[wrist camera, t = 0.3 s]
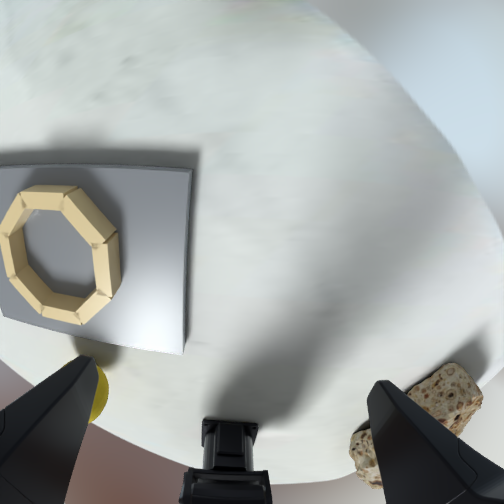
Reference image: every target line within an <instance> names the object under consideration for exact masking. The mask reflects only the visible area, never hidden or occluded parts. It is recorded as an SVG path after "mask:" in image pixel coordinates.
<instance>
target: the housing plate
mask: <svg viewBox="0 0 504 504" xmlns="http://www.w3.org/2000/svg"><path fill="white" fill-rule="evenodd" d="M192 171H193V169H185V168H171V167H156V166H137V165H111V164H32V165H8V166H0V307H1V310H2V313H3V316H4V317H7V318H11V319H14V320H17V321H20V322H24V323H27V324H31V325H34V326H38V327H42V328H45V329H49V330H53V331H57V332H61V333H65V334H69V335H73V336H77V337H82V338H86V339H91V340H96V341H100V342H105V343H110V344H116V345H121V346H126V347H132V348H138V349H144V350H150V351H157V352H163V353H170V354H178V355H183V352H184V348H185V310H186V270H187V246H188V227H189V211H190V196H191V183H192Z"/></svg>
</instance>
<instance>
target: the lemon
mask: <svg viewBox="0 0 504 504" xmlns="http://www.w3.org/2000/svg"><path fill="white" fill-rule="evenodd" d="M70 362H71V361H70ZM68 363H69V362H68ZM68 363H67V364H68ZM67 364H65V365H67ZM65 365H64V366H65ZM64 366H63V367H64ZM96 366H97V365H96ZM97 370H98V374H99V381H98V385H97V389H96V393H95V397H94V402H93V406H92V410H91V415H90V419H89V422H88V423H90V422H92V421H94V420H95V419H96V418H97V417H98V416H99V415H100V414H101V412H102V411H103V409H104V407H105V405H106V403H107V399H108V394H109V385H108V381H107V378H106V376H105V374H104V372H103V371H102V370H101V368H100V367H99V366H97Z"/></svg>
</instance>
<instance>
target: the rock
mask: <svg viewBox="0 0 504 504" xmlns="http://www.w3.org/2000/svg"><path fill="white" fill-rule="evenodd" d="M407 396H409V397H410V398H411V399H412V400H413V401H415V402H416V403H417V404H418V405H419V406H421V407H422V408H423V409H424V410H426V411H427V412H428V413H429V414H430V415H432V416H433V417H434V418H435V419H437V420H438V421H439V422H440V423H441V424H443V425H444V426H445V427H446V428H448V429H449V430H450V431H451V432H452V433H454V434H455V435H456V436H457V437H458V436H459V435H460V434H461V433H462V432H463V429H464V427H465V426H466V424H467V423H468V422H469V421H470V419H471V416H472V415H473V414H474V413H475V412H476V411H477V410H479V409H480V408H481V404H482V400H483V395H482V392H481V391H480V389H479V387H478V386H477V385H476V384H475V382H474V380H473V379H472V378H471V376H469V375H468V374H467V373H466V371H465V369H464V368H463V367H461V366H460V365H458V364H457V363H448V364H445V365H442V366H441V367H440V369H439V370H438V371H436V372H435V373H434V374H433V375H432V376H431V377H430V378H427V379H426V380H424V381H423V382H422V383H420V384H418V385H416V386H414V387H413V388H412V390H411V391H409V392H408V394H407ZM349 454H350V456H351V458H352V459H353V460H354V461H355V466H356V469H357V472H356V474H357V476H358V477H359V478H360V479H361V480H363V481H364V482H365V483H366V484H367V485H369V486H370V487H371V488H372V489H381V488H383V485H382V480H381V476H380V471H379V467H378V462H377V458H376V454H375V450H374V446H373V441H372V435H371V428H370V429H367V430H363V431H359V432H357V433H355V434H353V436H352V438H351V445H350V450H349Z"/></svg>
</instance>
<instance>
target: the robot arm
mask: <svg viewBox="0 0 504 504" xmlns="http://www.w3.org/2000/svg"><path fill="white" fill-rule="evenodd" d="M98 381H99V374H98V370H97V366H96V363H95V359H94V358H93V357H92V356H88V355H80V356H78V357H77V358H75V359H74V360H72V361H71V362H69V363H68V364H67V365H65V366H64V367H62V368H61V369H59V370H58V371H56V372H55V373H54V374H52V375H51V376H49V377H48V378H46V379H45V380H44V381H42V382H41V383H39V384H38V385H36V386H35V387H33V388H32V389H31V390H29V391H28V392H26V393H25V394H23V395H22V396H21V397H19V398H18V399H16V400H15V401H14V402H12V403H11V404H10V405H8V406H6V408H5V409H2V410H1V411H0V504H64V501H65V497H66V493H67V490H68V486H69V482H70V479H71V475H72V472H73V469H74V465H75V462H76V459H77V455H78V453H79V449H80V446H81V443H82V440H83V437H84V434H85V431H86V428H87V426H88V422H89V419H90V415H91V410H92V406H93V402H94V397H95V393H96V389H97V385H98ZM367 406H368V413H369V420H370V428H371V435H372V441H373V446H374V450H375V454H376V458H377V462H378V467H379V471H380V476H381V480H382V485H383V489H384V494H385V499H386V504H504V469H503V468H501V467H500V466H498V465H496V464H495V463H493V462H492V461H490V460H489V459H487V458H485V457H484V456H482V455H481V454H480V453H478V452H477V451H475V450H474V449H473V448H471V447H470V446H469V445H467V444H466V443H465V442H463V441H462V440H461V439H460V438H458V437H457V436H456V435H455V434H454V433H452V432H451V431H450V430H449V429H448V428H446V427H445V426H444V425H443V424H441V423H440V422H439V421H438V420H437V419H435V418H434V417H433V416H432V415H430V414H429V413H428V412H427V411H426V410H424V409H423V408H422V407H421V406H419V405H418V404H417V403H416V402H415V401H413V400H412V399H411V398H410V397H409V396H407V395H406V394H405V393H404V392H402V391H401V390H400V389H399V388H398V387H396V386H395V385H394V384H393V383H392V382H390V381H389V380H379V381H377V382H376V383H375V384H374V386H373V388H372V390H371V391H370V393H369V395H368V397H367ZM257 432H258V424H256V423H238V422H223V421H211V420H203V421H202V447H204V456H203V469H195V468H192V467H189V470H188V472H185V473H184V481H183V486H182V490H181V493H180V497H179V503H180V504H272V494H271V488H270V481H269V475H268V470H263V471H254V468H253V445H254V442H255V438H256V435H257Z"/></svg>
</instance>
